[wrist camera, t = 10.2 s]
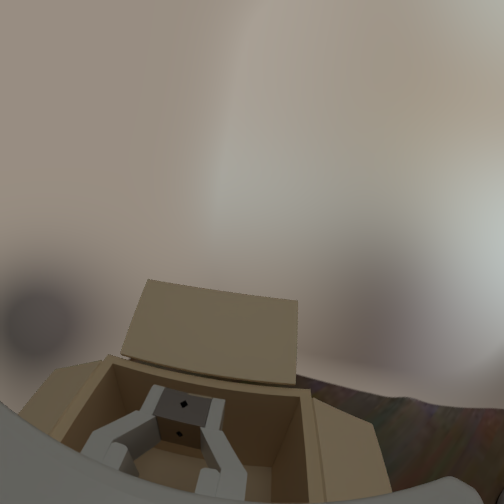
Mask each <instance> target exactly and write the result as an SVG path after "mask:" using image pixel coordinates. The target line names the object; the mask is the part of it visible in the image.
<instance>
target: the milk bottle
mask: <svg viewBox="0 0 504 504" xmlns="http://www.w3.org/2000/svg"><path fill="white" fill-rule="evenodd" d="M497 504H504V490H503V491H502V493H501V495H500V496H499V499H498V501H497Z"/></svg>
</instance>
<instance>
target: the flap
mask: <svg viewBox="0 0 504 504" xmlns="http://www.w3.org/2000/svg"><path fill="white" fill-rule="evenodd" d="M297 325H298V301H295V300H287V299H278V298H270V297H261V296H254V295H247V294H239V293H232V292H225V291H218V290H211V289H205V288H198V287H192V286H185V285H179V284H173V283H167V282H161V281H155V280H150V279H148V280H147V282H146V285H145V287H144V290H143V292H142V295H141V297H140V300H139V303H138V305H137V308H136V310H135V313H134V316H133V318H132V321H131V324H130V326H129V329H128V332H127V335H126V338H125V341H124V343H123V346H122V349H121V355H123V356H126V357H130V358H133V359H137V360H141V361H145V362H149V363H153V364H157V365H161V366H165V367H170V368H174V369H179V370H184V371H189V372H194V373H199V374H205V375H210V376H216V377H223V378H229V379H236V380H244V381H252V382H261V383H271V384H282V385H295V384H296V361H297Z"/></svg>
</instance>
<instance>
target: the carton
mask: <svg viewBox="0 0 504 504" xmlns="http://www.w3.org/2000/svg"><path fill="white" fill-rule="evenodd" d="M154 384H155V385H159V386H163V387H167V388H170V389H174V390H178V391H182V392H186V393H192V394H197V395H202V396H208V397H213V398H218V399H224V400H226V402H225V412H224V420H223V428H222V431H223V432H224V434H225V436H226V438H227V440H228V441H229V443H230V445H231V447H232V448H233V450H234V452H235V454H236V455H237V457H238V459H239V460H240V462H241V464H242V465H243V467H244V469H245V470H246V472H247V482H246V491H245V500H244V501H250V502H263V503H322V502H335V501H345V500H353V499H360V498H366V497H372V496H378V495H383V494H388V493H392V489H391V486H390V482H389V478H388V475H387V471H386V467H385V464H384V460H383V457H382V454H381V450H380V447H379V444H378V440H377V437H376V434H375V431H374V428H373V425H372V424H371V423H369V422H366V421H364V420H361V419H359V418H357V417H354V416H352V415H350V414H347V413H345V412H343V411H341V410H338V409H336V408H334V407H332V406H330V405H328V404H325V403H323V402H321V401H319V400H317V399H315V398H311V391H310V389H295V388H281V387H269V386H260V385H251V384H243V383H235V382H228V381H222V380H215V379H209V378H204V377H198V376H193V375H188V374H183V373H178V372H174V371H169V370H165V369H160V368H156V367H152V366H148V365H144V364H140V363H137V362H133V361H130V360H126V359H123V358H119V357H116V356H113V355H109V354H108V356H107V357H106V358H105V359H104V361H102V360H99V361H94V362H90V363H85V364H80V365H75V366H70V367H65V368H59V369H55V370H54V372H53V373H52V374H51V375H50V376H49V377H48V378H47V380H46V381H45V382H44V383H43V384H42V386H41V387H40V388H39V389H38V390H37V391H36V393H35V394H34V395H33V396H32V398H31V399H30V400H29V401H28V402H27V404H26V405H25V406H24V407H23V409H22V410H21V411H20V412H19V414H18V415H19V416H20V417H22V418H23V419H24V420H26V421H27V422H29V423H30V424H32V425H33V426H35V427H36V428H38V429H39V430H41V431H42V432H44V433H45V434H47V435H49V436H50V437H52V438H54V439H55V440H57V441H59V442H61V443H62V444H64V445H66V446H68V447H70V448H71V449H73V450H75V451H77V452H79V453H80V452H81V451H82V449H83V447H84V446H85V444H86V442H87V440H88V439H89V437H90V435H91V434H92V432H93V431H95V430H97V429H99V428H101V427H103V426H105V425H107V424H110V423H112V422H114V421H116V420H118V419H120V418H122V417H124V416H126V415H128V414H130V413H132V412H134V411H136V410H137V411H140V409H141V407H142V405H143V403H144V401H145V399H146V397H147V395H148V393H149V391H150V389H151V387H152V386H153V385H154ZM133 462H134V464H135V466H136V468H137V470H138V472H139V477H138V478H141V479H144V480H147V481H150V482H154V483H157V484H160V485H164V486H167V487H171V488H175V489H179V490H183V491H187V492H192V493H195V489H196V486H197V482H198V478H199V474H200V470H201V469H203V468H208V466H207V464H206V461H205V459H204V457H203V454H202V452H201V450H199V449H195V448H191V447H187V446H183V445H179V444H175V443H170V442H166V441H162V440H161V442H159V443H158V444H157V445H155V446H154V447H153V448H151V449H150V450H148V451H147V452H146V453H144V454H143V455H141V456H140V457H138V458H137V459H136V460H134V461H133Z"/></svg>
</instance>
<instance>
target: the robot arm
mask: <svg viewBox="0 0 504 504" xmlns="http://www.w3.org/2000/svg"><path fill="white" fill-rule="evenodd" d="M225 402H226V400H224V399H218V398H213V397H208V396H202V395H197V394H192V393H186V392H182V391H178V390H174V389H170V388H167V387H163V386H159V385H155V384H154V385H153V386H152V387H151V389H150V391H149V393H148V395H147V397H146V399H145V401H144V403H143V405H142V407H141V409H140V411H137V410H136V411H134V412H132V413H130V414H128V415H126V416H124V417H122V418H120V419H118V420H116V421H114V422H112V423H110V424H107V425H105V426H103V427H101V428H99V429H97V430H95V431H93V432H92V434H91V435H90V437H89V439H88V440H87V442H86V444H85V446H84V447H83V449H82V451H81V452H80V453H79V452H77V451H75V450H73V449H71V448H70V447H68V446H66V445H64V444H62V443H61V442H59V441H57V440H55V439H54V438H52V437H50V436H49V435H47V434H45V433H44V432H42V431H41V430H39V429H38V428H36V427H35V426H33V425H32V424H30V423H29V422H27V421H26V420H24V419H23V418H22V417H20V416H19V415H17V414H16V413H15V412H13V411H12V410H11V409H9V408H8V407H7V406H6V405H4V404H3V403H2V402H1V401H0V504H483V501H482V499H481V498H480V496H479V494H478V493H477V491H476V490H475V489H474V488H472V487H471V486H469V485H467V484H466V483H464V482H462V481H460V480H459V479H457V478H454V477H452V476H448V477H444V478H441V479H438V480H435V481H432V482H429V483H426V484H423V485H419V486H416V487H412V488H409V489H405V490H401V491H397V492H392V493H388V494H383V495H378V496H372V497H366V498H360V499H353V500H345V501H335V502H322V503H263V502H250V501H244V500H245V491H246V482H247V472H246V470H245V469H244V467H243V465H242V464H241V462H240V460H239V459H238V457H237V455H236V454H235V452H234V450H233V448H232V447H231V445H230V443H229V441H228V440H227V438H226V436H225V434H224V432H223V431H222V428H223V420H224V412H225ZM161 440H162V441H166V442H170V443H175V444H179V445H183V446H187V447H191V448H195V449H199V450H201V452H202V454H203V457H204V459H205V461H206V464H207V466H208V468H203V469H201V470H200V474H199V478H198V482H197V486H196V489H195V493H192V492H187V491H183V490H179V489H175V488H171V487H167V486H164V485H160V484H157V483H154V482H150V481H147V480H144V479H141V478H138V477H139V472H138V470H137V468H136V466H135V464H134V462H133V461H134V460H136V459H137V458H138V457H140V456H141V455H143V454H144V453H146V452H147V451H148V450H150V449H151V448H153V447H154V446H155V445H157V444H158V443H159V442H161Z"/></svg>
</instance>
